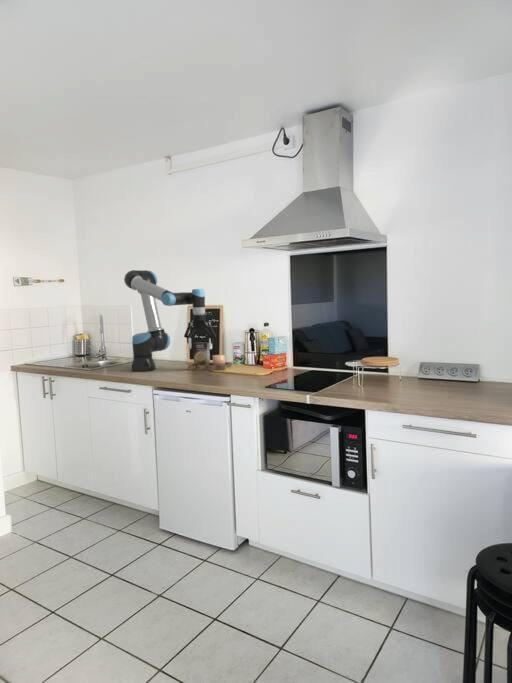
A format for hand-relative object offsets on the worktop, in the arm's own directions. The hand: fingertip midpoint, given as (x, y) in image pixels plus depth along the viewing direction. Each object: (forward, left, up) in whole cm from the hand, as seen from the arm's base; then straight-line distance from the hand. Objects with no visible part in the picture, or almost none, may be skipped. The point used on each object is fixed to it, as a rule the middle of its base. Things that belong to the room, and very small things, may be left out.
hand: (200, 348), depth 299 cm
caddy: (+6, 0, -13) cm, 14 cm away
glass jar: (+1, 0, -12) cm, 12 cm away
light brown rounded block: (+12, 0, -12) cm, 17 cm away
